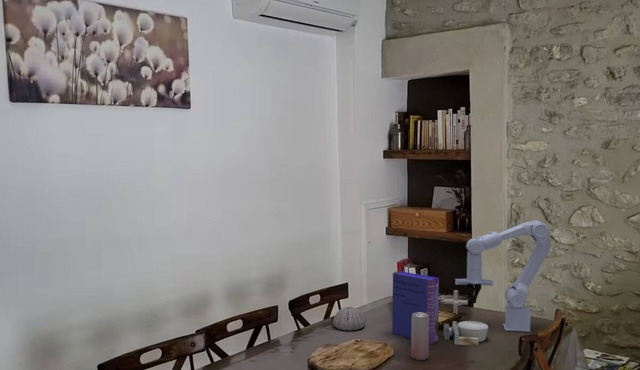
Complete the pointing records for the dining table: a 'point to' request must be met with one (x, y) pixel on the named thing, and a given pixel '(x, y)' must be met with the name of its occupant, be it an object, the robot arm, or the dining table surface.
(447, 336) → the grey h-shaped piece
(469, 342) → the pair of beige bars
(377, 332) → the dining table surface
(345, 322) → the sea urchin shell
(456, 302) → the pipe connector
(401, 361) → the dining table surface
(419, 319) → the beverage can
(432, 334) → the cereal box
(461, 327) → the ramekin
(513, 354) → the dining table surface
